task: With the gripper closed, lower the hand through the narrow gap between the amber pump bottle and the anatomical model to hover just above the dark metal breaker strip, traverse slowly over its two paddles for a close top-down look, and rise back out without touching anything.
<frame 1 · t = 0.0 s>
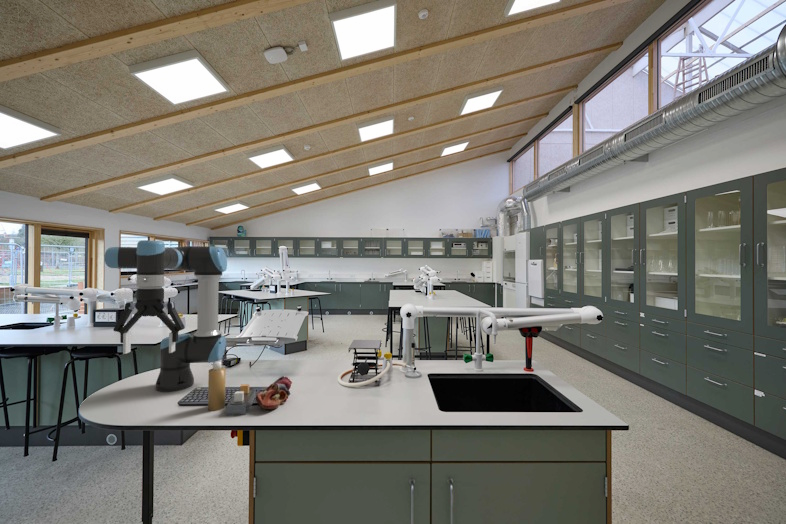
hand: (149, 352, 114), 28 cm above the table, fingers open, 13 cm apart
amber pump bottle: (216, 407, 138), on the table
anatomical model: (274, 405, 141), on the table
paddle a: (244, 388, 144), point 6 cm above the table, hinge at 0.0°
breaker strip: (241, 406, 140), on the table
paddle b: (239, 396, 136), point 6 cm above the table, hinge at 0.0°
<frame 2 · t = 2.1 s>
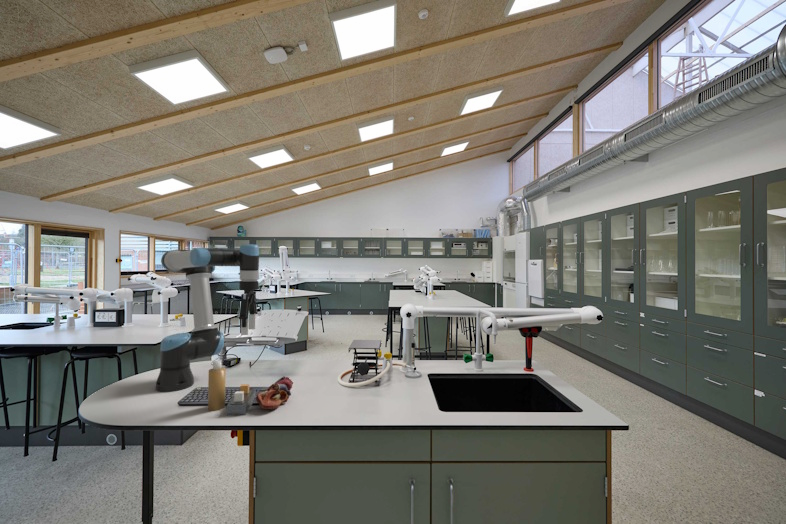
hand: (248, 331, 148), 28 cm above the table, fingers open, 11 cm apart
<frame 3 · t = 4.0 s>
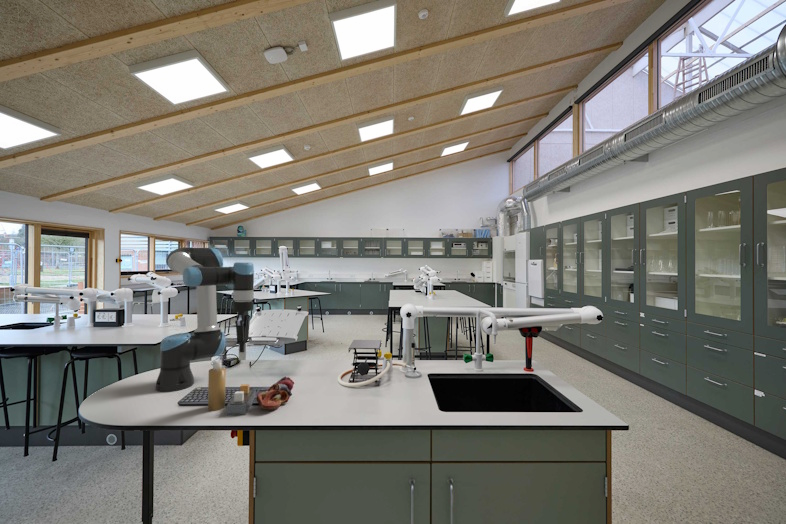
hand: (242, 359, 139), 19 cm above the table, fingers closed
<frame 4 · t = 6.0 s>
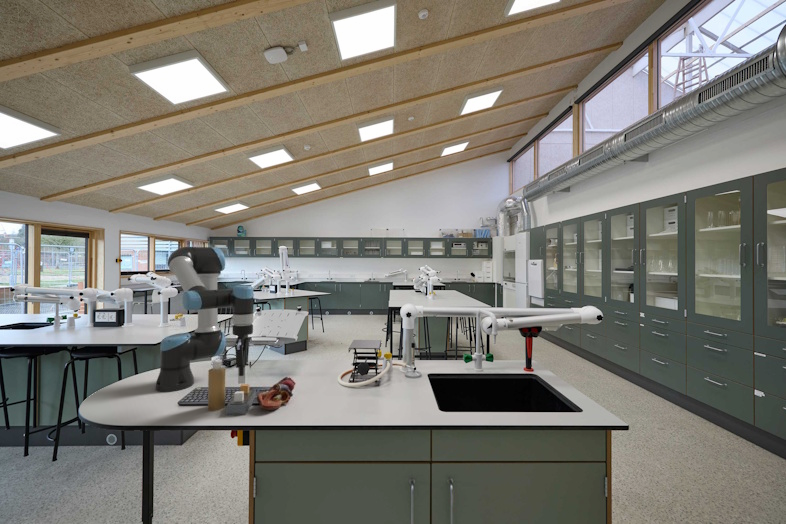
hand: (242, 382, 140), 9 cm above the table, fingers closed
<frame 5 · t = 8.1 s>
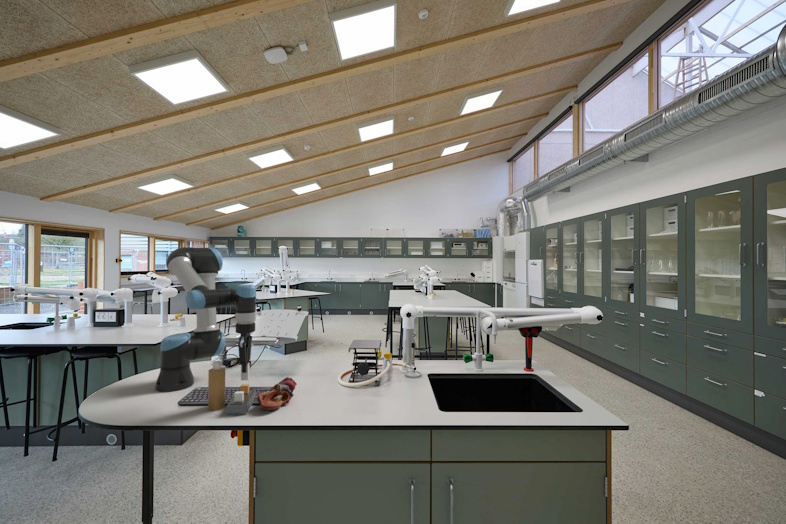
hand: (244, 379, 143), 9 cm above the table, fingers closed
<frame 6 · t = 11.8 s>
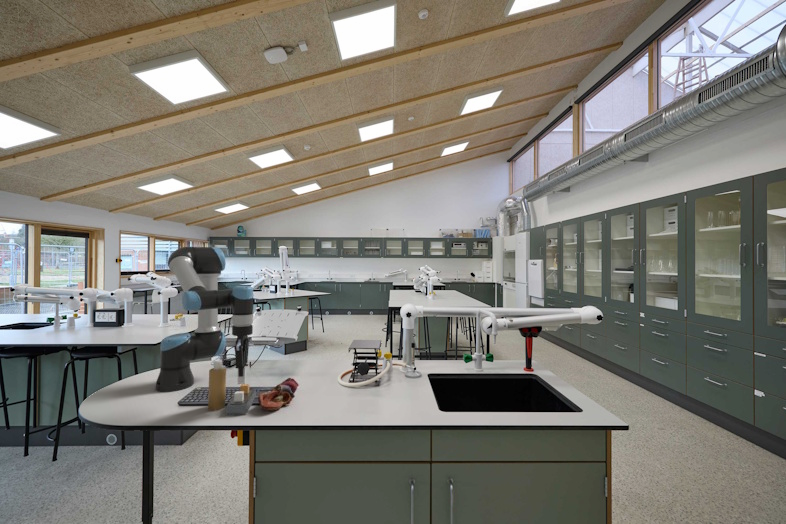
hand: (241, 383, 139), 9 cm above the table, fingers closed
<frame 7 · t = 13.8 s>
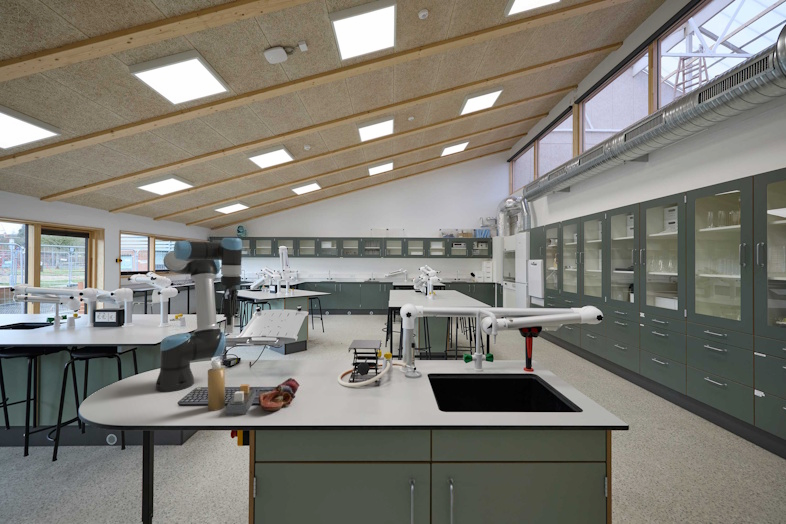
hand: (229, 332, 144), 29 cm above the table, fingers closed
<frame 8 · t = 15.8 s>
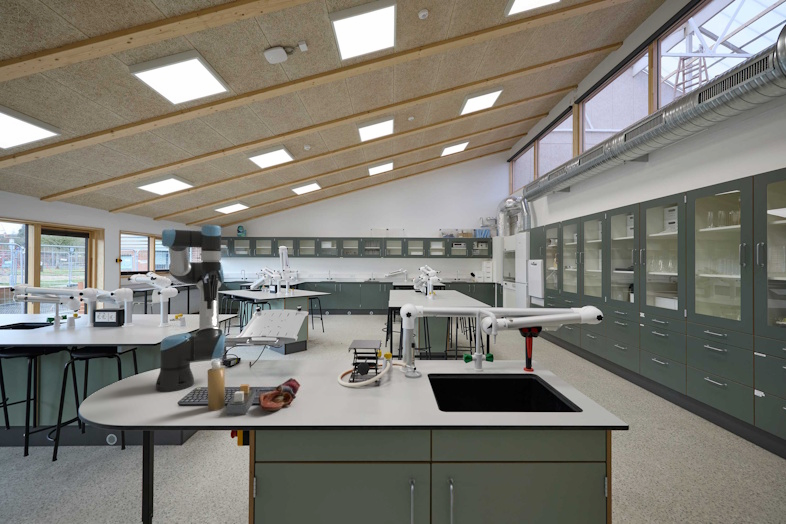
hand: (210, 316, 149), 34 cm above the table, fingers closed
at the end: paddle a at +0° (first picture: +0°); paddle b at +0° (first picture: +0°); amber pump bottle moved 0.1 cm from its start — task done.
